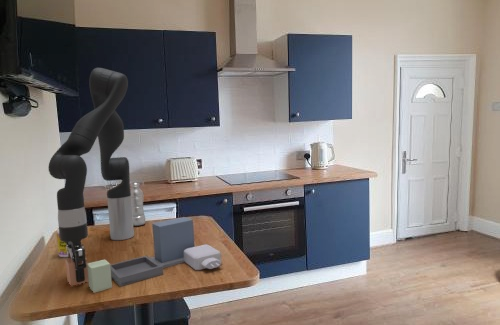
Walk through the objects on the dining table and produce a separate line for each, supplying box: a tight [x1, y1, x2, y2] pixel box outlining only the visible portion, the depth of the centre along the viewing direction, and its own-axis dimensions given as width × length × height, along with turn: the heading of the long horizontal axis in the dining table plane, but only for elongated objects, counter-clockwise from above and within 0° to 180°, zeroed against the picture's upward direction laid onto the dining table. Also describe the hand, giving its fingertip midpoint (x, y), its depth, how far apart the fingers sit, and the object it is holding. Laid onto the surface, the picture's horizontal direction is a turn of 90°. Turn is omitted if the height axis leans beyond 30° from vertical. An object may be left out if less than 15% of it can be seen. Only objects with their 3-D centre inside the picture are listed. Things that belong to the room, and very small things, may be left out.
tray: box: [110, 255, 164, 288], centre depth 116 cm, size 13×13×2 cm
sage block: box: [87, 258, 113, 294], centre depth 106 cm, size 5×5×7 cm
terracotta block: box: [65, 256, 89, 287], centre depth 111 cm, size 5×5×7 cm
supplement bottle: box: [56, 227, 68, 258], centre depth 136 cm, size 7×7×13 cm
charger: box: [184, 243, 222, 271], centre depth 119 cm, size 5×9×15 cm
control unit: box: [150, 216, 196, 269], centre depth 126 cm, size 10×14×13 cm
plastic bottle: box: [130, 181, 146, 227], centre depth 173 cm, size 6×7×20 cm
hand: (78, 277), depth 112 cm, fingers open, 6 cm apart
